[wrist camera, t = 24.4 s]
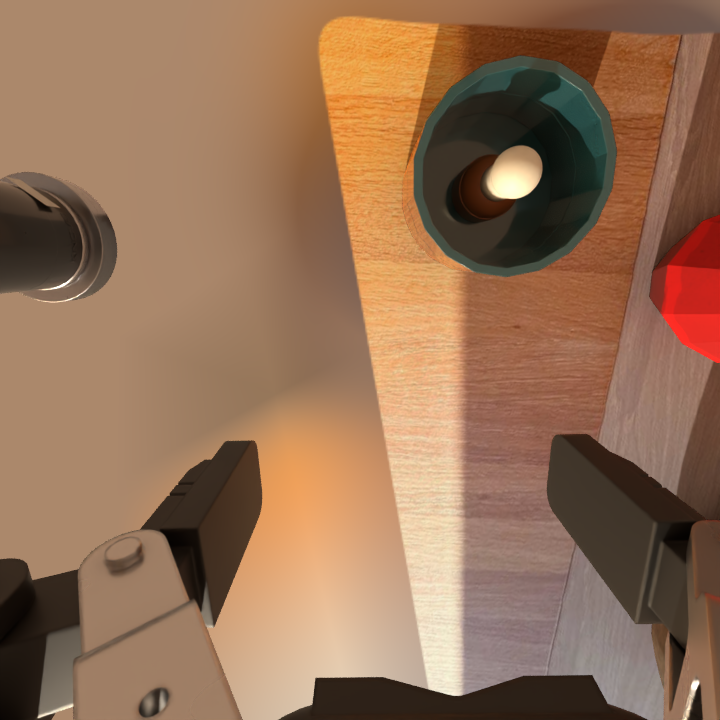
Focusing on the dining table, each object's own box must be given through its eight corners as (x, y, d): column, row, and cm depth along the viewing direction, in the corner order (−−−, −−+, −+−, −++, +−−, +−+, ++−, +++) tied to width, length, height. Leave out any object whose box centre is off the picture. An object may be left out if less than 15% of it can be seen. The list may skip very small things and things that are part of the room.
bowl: (402, 274, 39) (413, 279, 30) (401, 108, 35) (414, 59, 26) (547, 270, 38) (601, 274, 30) (563, 102, 34) (630, 50, 26)
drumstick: (450, 223, 37) (484, 210, 26) (452, 163, 35) (488, 125, 25) (505, 221, 37) (560, 208, 26) (509, 161, 35) (569, 122, 25)
